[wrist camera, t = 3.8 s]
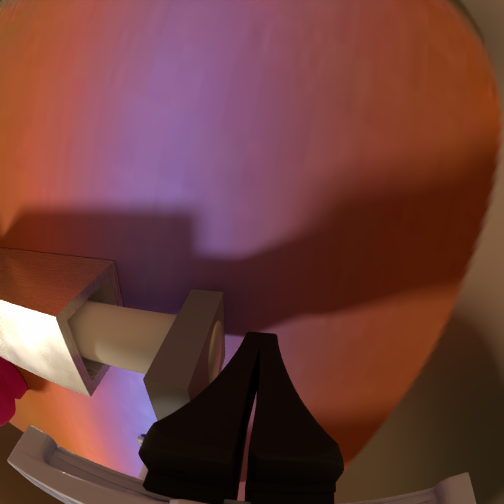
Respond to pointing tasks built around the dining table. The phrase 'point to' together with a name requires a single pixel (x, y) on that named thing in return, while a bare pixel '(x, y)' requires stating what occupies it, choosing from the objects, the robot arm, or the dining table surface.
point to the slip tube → (157, 345)
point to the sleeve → (52, 313)
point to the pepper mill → (9, 389)
